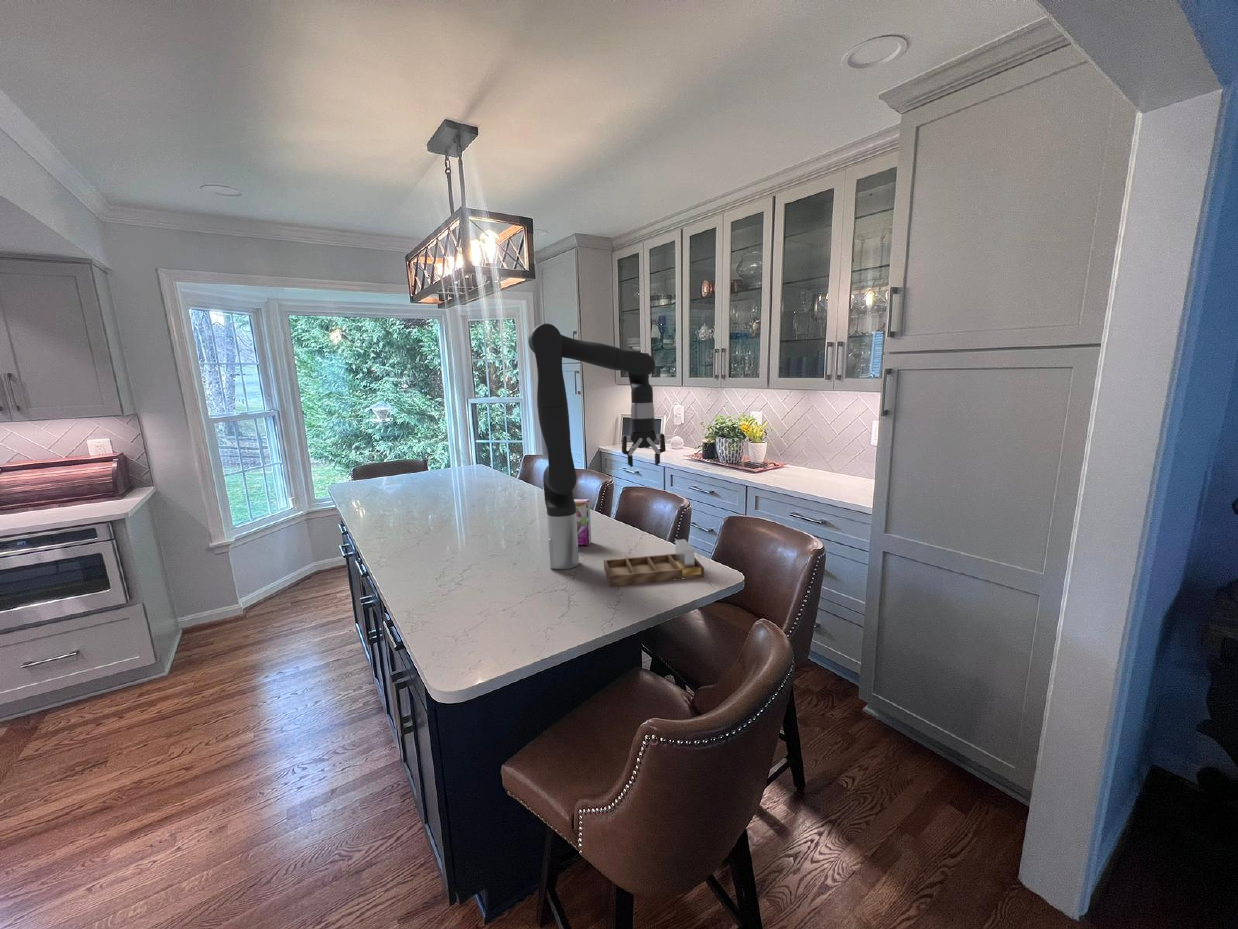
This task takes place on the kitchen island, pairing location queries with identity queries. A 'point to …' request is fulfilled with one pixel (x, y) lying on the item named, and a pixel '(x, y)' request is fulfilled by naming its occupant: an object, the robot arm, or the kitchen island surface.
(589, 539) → the candy bar box
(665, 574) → the rack
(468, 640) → the kitchen island surface
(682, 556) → the panel
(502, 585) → the kitchen island surface
